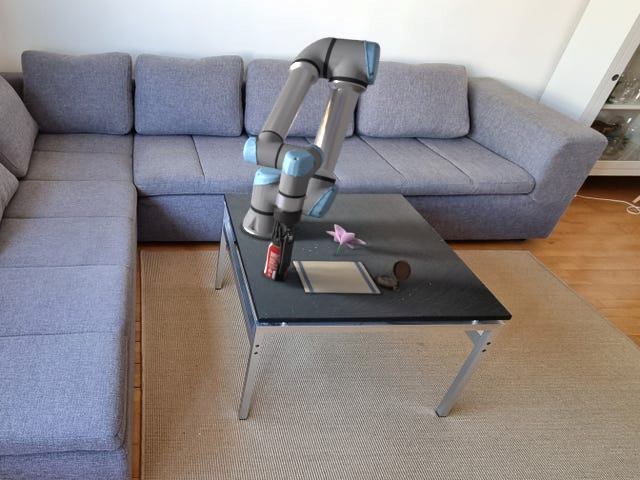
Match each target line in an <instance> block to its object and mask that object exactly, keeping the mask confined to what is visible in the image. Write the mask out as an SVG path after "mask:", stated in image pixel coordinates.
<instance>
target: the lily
mask: <svg viewBox="0 0 640 480" xmlns="http://www.w3.org/2000/svg"><path fill="white" fill-rule="evenodd" d="M325 233H326V234H329V235H331V236H332V237H334V238H333V241H334V242H335V243H336V242H337V243H340V244H339V246H338V249H337V251H336V254H335V255H336V256H338V254H339V250H340V248H341V246H342V245H344V244H346V245H347V246H349V248H350V249H352V250H353V249H354V244H359V245H360V244H361V245H367V243H366V242H365V241H363V240H362V239H359V238H358V237H355V236H356V233H354V232H347V231H346V230H345V229H344V228H343V227H341V226H340V225H338V224H334V231H329V230H326V231H325Z"/></svg>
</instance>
